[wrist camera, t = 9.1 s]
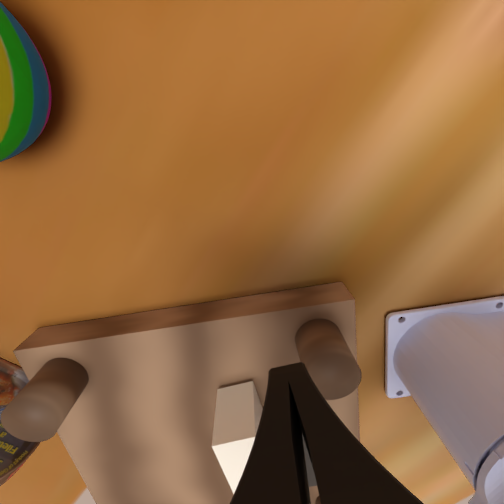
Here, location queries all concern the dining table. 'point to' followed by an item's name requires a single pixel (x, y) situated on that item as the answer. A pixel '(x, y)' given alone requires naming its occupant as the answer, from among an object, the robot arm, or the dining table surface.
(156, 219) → the dining table surface
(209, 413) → the stool seat
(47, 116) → the decorative egg
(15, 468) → the tin
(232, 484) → the folding leg
